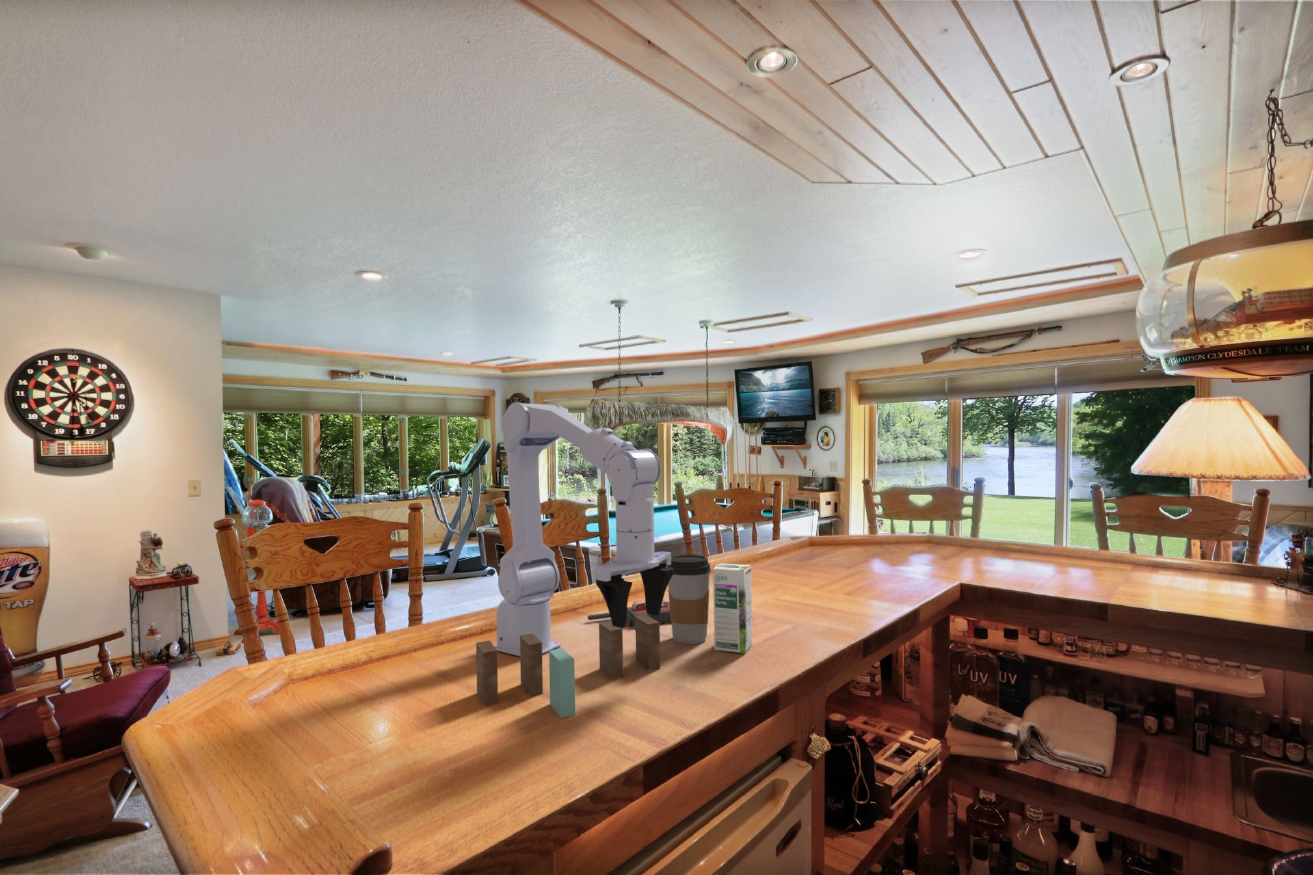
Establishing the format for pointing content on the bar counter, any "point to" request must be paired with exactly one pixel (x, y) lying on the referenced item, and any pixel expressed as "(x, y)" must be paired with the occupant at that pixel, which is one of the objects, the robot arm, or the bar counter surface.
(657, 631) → the domino
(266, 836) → the bar counter surface
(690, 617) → the coffee cup
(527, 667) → the domino
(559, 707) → the domino
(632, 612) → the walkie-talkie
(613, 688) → the bar counter surface
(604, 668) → the domino
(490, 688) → the domino
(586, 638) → the bar counter surface
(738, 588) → the syrup box
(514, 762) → the bar counter surface
